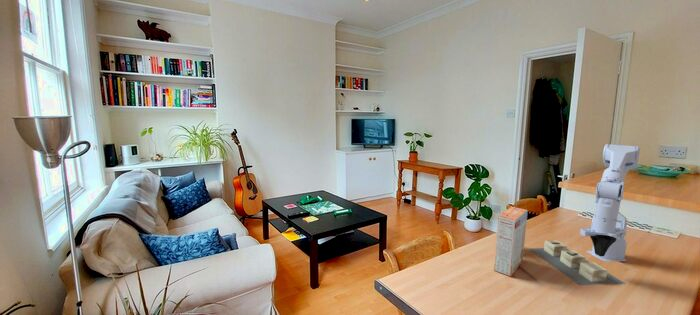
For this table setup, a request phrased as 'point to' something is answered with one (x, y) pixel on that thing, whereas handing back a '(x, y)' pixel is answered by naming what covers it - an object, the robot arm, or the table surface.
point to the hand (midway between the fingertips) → (599, 255)
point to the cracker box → (510, 240)
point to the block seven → (572, 259)
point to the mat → (572, 269)
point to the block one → (554, 247)
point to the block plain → (593, 271)
